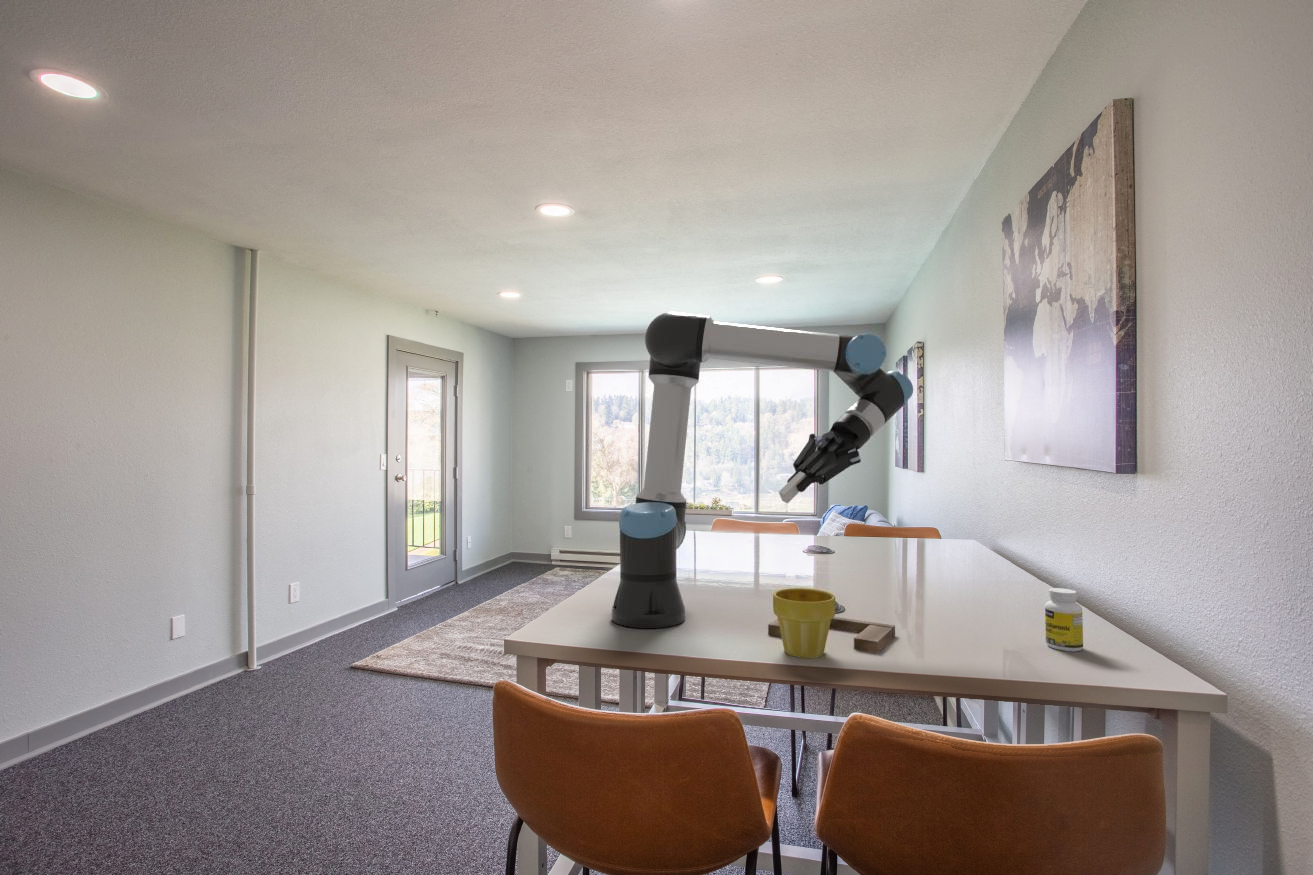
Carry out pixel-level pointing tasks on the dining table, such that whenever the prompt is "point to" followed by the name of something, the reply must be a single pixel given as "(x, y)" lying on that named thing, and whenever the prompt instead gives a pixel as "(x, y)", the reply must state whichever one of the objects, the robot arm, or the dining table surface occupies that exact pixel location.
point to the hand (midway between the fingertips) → (783, 497)
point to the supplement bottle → (1063, 620)
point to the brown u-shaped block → (868, 639)
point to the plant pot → (804, 620)
